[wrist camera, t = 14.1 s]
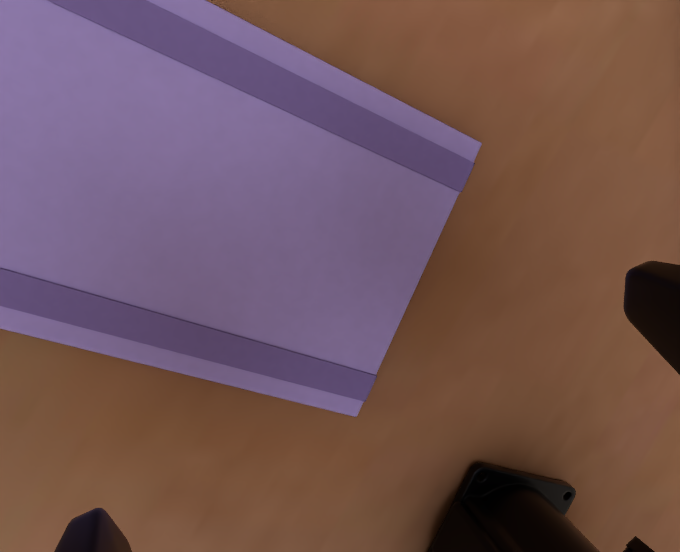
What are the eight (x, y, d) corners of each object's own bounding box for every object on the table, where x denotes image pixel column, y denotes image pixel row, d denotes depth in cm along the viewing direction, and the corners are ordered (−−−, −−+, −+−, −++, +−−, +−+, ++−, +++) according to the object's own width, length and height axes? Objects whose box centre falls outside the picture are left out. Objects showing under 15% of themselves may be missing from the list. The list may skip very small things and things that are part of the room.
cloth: (477, 142, 22) (484, 143, 21) (353, 412, 24) (357, 418, 23) (-146, -179, 14) (-156, -188, 14) (-255, 259, 16) (-267, 263, 16)
